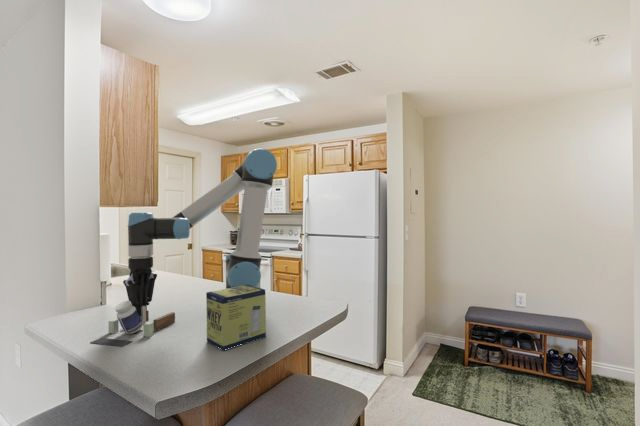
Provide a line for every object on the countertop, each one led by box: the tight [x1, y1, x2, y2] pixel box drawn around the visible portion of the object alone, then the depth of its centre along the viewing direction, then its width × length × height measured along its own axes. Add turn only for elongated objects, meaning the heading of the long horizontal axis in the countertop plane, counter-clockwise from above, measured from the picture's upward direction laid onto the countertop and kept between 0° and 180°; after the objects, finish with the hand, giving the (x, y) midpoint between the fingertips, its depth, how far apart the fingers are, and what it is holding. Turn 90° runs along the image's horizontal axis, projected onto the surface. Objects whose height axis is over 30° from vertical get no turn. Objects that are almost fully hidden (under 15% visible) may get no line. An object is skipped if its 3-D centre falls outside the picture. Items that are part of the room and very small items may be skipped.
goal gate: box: [108, 318, 154, 338], centre depth 108 cm, size 16×2×4 cm, turn 76°
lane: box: [146, 310, 176, 331], centre depth 117 cm, size 13×9×4 cm
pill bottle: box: [114, 300, 144, 335], centre depth 108 cm, size 6×6×10 cm
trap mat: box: [89, 337, 133, 348], centre depth 101 cm, size 12×4×1 cm, turn 76°
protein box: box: [205, 285, 267, 351], centre depth 103 cm, size 10×16×16 cm
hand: (141, 324), depth 113 cm, fingers closed
